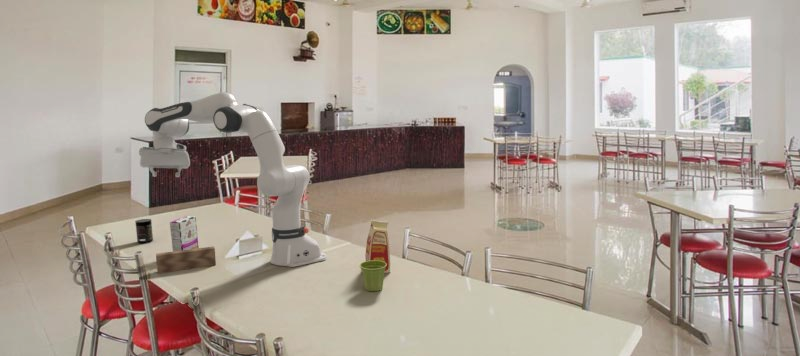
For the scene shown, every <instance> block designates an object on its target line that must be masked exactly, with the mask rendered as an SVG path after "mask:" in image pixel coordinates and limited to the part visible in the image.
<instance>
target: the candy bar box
mask: <svg viewBox="0 0 800 356" xmlns="http://www.w3.org/2000/svg"><path fill="white" fill-rule="evenodd" d="M169 227H170V236H171V248H172V252H173V251H181V250H189V249H197V248H200V247H199V237H198V228H197V227H198V226H197V217H196V215H185V216H183V217H179V218H177V219H175V220H172V221H170V222H169Z"/></svg>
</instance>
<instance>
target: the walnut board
mask: <svg viewBox="0 0 800 356" xmlns="http://www.w3.org/2000/svg"><path fill="white" fill-rule="evenodd" d="M215 250H216V248H215V246H207V247H199V248H197V249H189V250H181V251H173V250H172V251H166V252H160V253H155V259H156V261H155V262H156V271H157V274H162V273H163V274H164V273H169V272H177V271H185V270H190V269H198V268H205V267H213V266H217V263H216V251H215Z"/></svg>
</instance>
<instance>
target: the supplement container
mask: <svg viewBox="0 0 800 356" xmlns="http://www.w3.org/2000/svg"><path fill="white" fill-rule="evenodd" d="M152 224H153V223H152V219H151V218H141V219H137V220H135V232H136V240H137V241H136V242H137V243H138V244H149V243H152V242H153V241H154V237H153V236H154V233H153V225H152Z"/></svg>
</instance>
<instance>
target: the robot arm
mask: <svg viewBox="0 0 800 356" xmlns="http://www.w3.org/2000/svg"><path fill="white" fill-rule="evenodd" d="M190 121H191V122H197V123H201V124H213V123H214V124H213V125H214V126H215V128H216V130H217V131H219V132H222V133H226V134H231V133H247V134H248V137H249V139H250V142H251V144H252V146H253V148H254V150H255V153H256V155H257V159H258V160H259V166H260V167H259V169H260V170H259V175H258V177H257V179H256V185H257V189H258V191H259V192H260V193H261V194H262V195H263V196H265V197H277V200H276V202H275V204H274V205H273V207H272V210H271V214H272V215H271V216H272V228H271V240H272V253H271V258H270V263H271V265H275V266H279V267H281V266H283V267H289V268H290V267H291V268H295V267H299V266H304V265H308V264H314V263H318V262H323V261H325V260H327V255H326V253H325V252H324V251H323V250H321V247H320V245H319V242H318V241H317V240H315V239H314V238H312V237H311V236H310V235H308V233H309V232H310V229H309V228H308V227H306V226H304V225H301V206H302V199H303V196H304V193H305V189H306V188H307V186H308V185H309V183H310V181H311V180H310V179H311V175H310V172H309V170H308V169H307V168H306V167H305V166H303V165H299V164H289V165H285V163H284V157H283V156H284V154H285V151H286V148H285V144H284V143H283V140H282V138H281V136H280V134H279V132H278V129H277V128H276V125H275V124H274V123H273V121H272V119H271V118H270V116H269V115H268V114H267V113H266V112H265V111H263V110H261V109H260V108H258V107H256V106H254V105H250V104H247V103H243V104H239V103H238V102H237V100H236V98H235V96H234V95H233V94H231V93H229V92H226V91H224V92H217V93H214V94H210V95H208V96H204V97H203V98H199V99H196V100H191V101H185V102H184V101H183V102H179V103H175V104H172V105H169V106H166V107H163V108H159V107H154V108H152V109H150V110H149V111H148V112H146V114H145V117H144V124H145V125H146V127H147V129H148V130H150V131H151V132H152V135H153V146H152V147H151V146H149V147H147V146H143V147H140V148H139V150H138V153H139V156H140V158H139V160H140V161H139V165H140V167H142V168H147V169H148V168H149V169H148V170H149V172H150V173H151V174H152V176H151V177H153V178H155V177H157V176H158V174H157V173H158V172H157V171H155V170H154V169H155V168H156V169H177V171H178V172H175V174H174V175H175V178H180V176H181V171H182V170H183V169H189V167H190V166H191V160H190V155H189V153H188V151H187V146H186V145H184V144H181V143H179V142H178V143H177V142H176V141H175V139H176V138H181V137H183V136H185V135H186V134H187V133H188V132H189V130H190Z"/></svg>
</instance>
